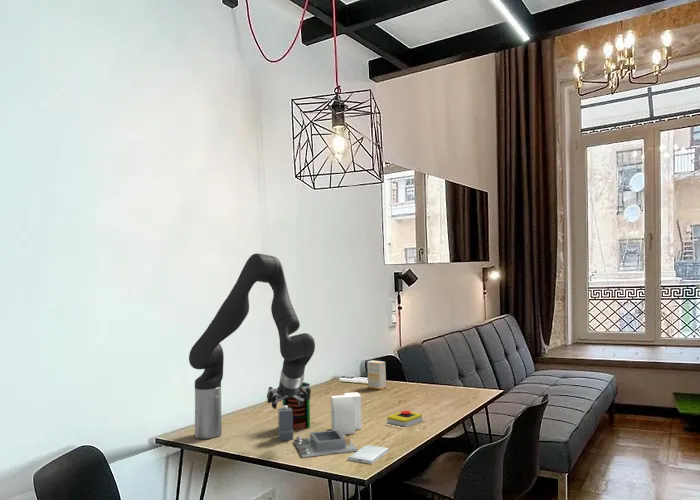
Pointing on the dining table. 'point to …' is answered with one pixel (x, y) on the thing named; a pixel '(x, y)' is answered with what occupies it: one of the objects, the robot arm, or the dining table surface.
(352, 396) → the corner bracket
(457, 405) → the dining table surface
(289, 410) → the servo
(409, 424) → the emergency button
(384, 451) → the hard drive
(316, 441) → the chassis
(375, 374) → the supplement box
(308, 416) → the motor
